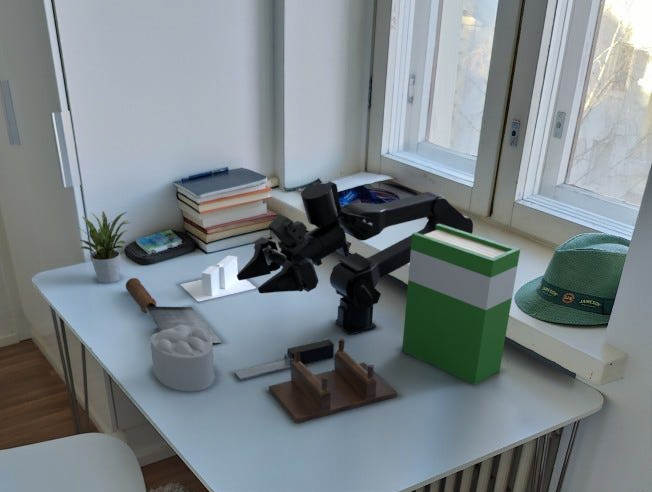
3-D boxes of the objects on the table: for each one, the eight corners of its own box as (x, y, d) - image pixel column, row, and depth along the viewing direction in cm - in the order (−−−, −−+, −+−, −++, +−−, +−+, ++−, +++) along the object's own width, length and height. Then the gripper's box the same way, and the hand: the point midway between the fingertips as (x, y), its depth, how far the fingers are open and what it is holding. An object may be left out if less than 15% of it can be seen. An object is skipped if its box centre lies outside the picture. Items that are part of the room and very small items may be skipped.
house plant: (151, 268, 193) (144, 203, 183) (132, 291, 181) (123, 224, 172) (97, 265, 195) (88, 201, 186) (75, 288, 184) (64, 221, 175)
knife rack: (364, 366, 149) (366, 332, 145) (397, 396, 140) (400, 360, 135) (268, 390, 143) (268, 354, 139) (296, 423, 134) (296, 386, 129)
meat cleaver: (222, 342, 159) (221, 324, 157) (170, 354, 156) (168, 336, 153) (170, 284, 185) (168, 268, 183) (124, 293, 182) (122, 277, 179)
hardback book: (402, 350, 154) (412, 233, 140) (426, 338, 157) (439, 223, 144) (474, 384, 142) (493, 260, 129) (499, 370, 146) (520, 249, 132)
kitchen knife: (327, 351, 154) (328, 338, 153) (334, 357, 152) (334, 344, 150) (234, 374, 148) (233, 360, 147) (240, 380, 146) (239, 367, 145)
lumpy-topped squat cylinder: (193, 354, 155) (190, 314, 151) (227, 380, 146) (225, 340, 141) (147, 369, 151) (142, 329, 146) (179, 398, 142) (174, 356, 137)
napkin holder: (236, 271, 189) (235, 249, 186) (257, 288, 181) (256, 264, 177) (179, 284, 184) (177, 261, 181) (198, 302, 175) (196, 278, 172)
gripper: (280, 198, 151) (212, 235, 148) (329, 216, 136) (255, 258, 133) (297, 248, 158) (232, 285, 155) (346, 271, 143) (275, 312, 140)
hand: (247, 284), depth 145 cm, fingers open, 9 cm apart
